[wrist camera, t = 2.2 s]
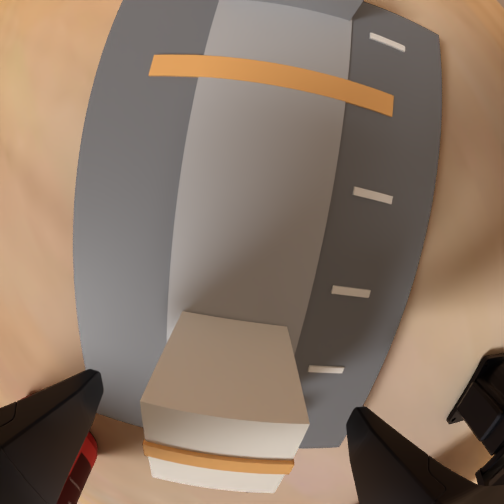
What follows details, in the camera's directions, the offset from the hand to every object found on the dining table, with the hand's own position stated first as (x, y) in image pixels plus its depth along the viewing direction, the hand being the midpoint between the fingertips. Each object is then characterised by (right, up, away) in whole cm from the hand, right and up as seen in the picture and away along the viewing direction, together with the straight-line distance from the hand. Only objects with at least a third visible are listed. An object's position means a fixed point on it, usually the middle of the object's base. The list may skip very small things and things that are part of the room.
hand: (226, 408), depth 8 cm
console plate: (+1, +6, +4) cm, 7 cm away
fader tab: (0, +1, +3) cm, 3 cm away
